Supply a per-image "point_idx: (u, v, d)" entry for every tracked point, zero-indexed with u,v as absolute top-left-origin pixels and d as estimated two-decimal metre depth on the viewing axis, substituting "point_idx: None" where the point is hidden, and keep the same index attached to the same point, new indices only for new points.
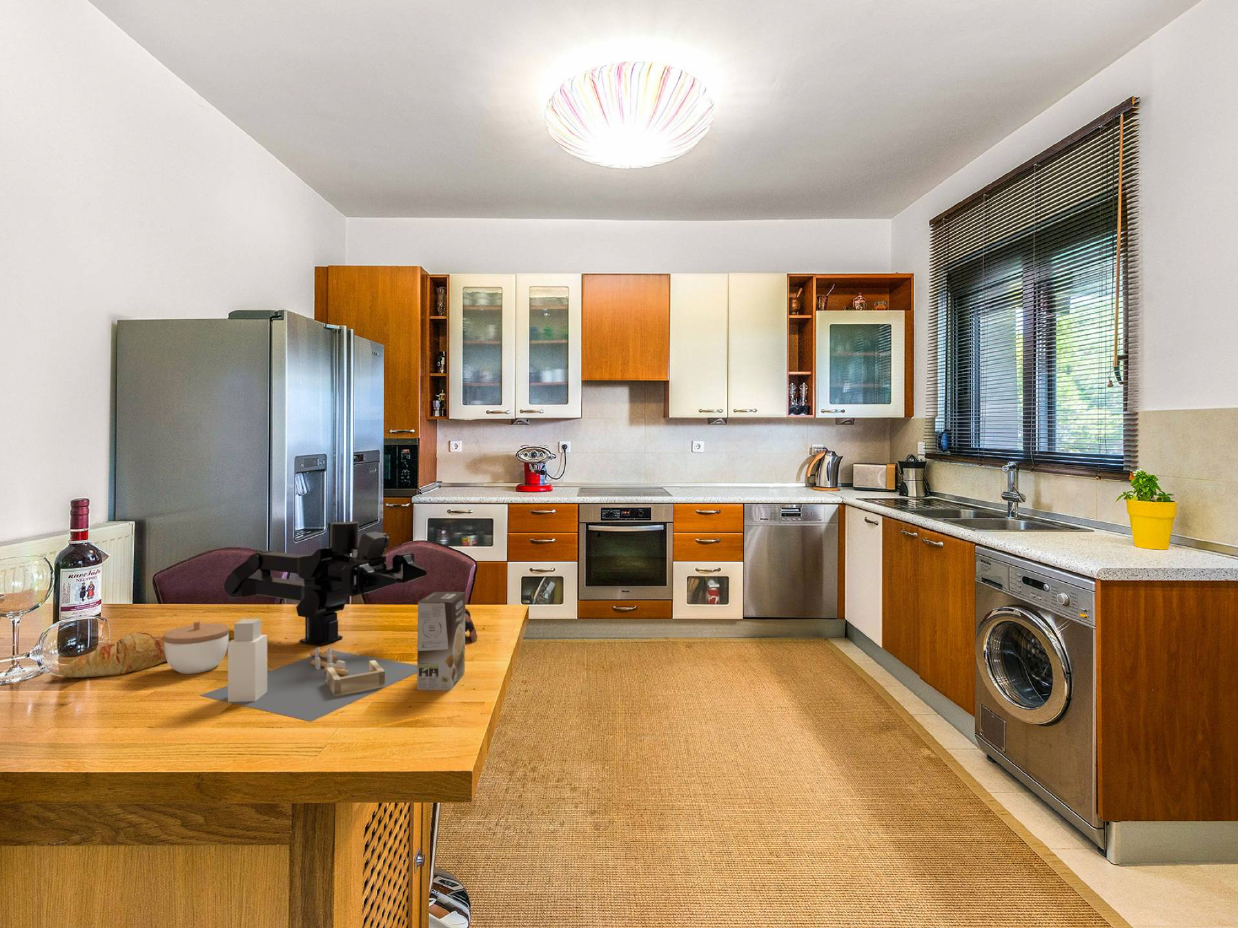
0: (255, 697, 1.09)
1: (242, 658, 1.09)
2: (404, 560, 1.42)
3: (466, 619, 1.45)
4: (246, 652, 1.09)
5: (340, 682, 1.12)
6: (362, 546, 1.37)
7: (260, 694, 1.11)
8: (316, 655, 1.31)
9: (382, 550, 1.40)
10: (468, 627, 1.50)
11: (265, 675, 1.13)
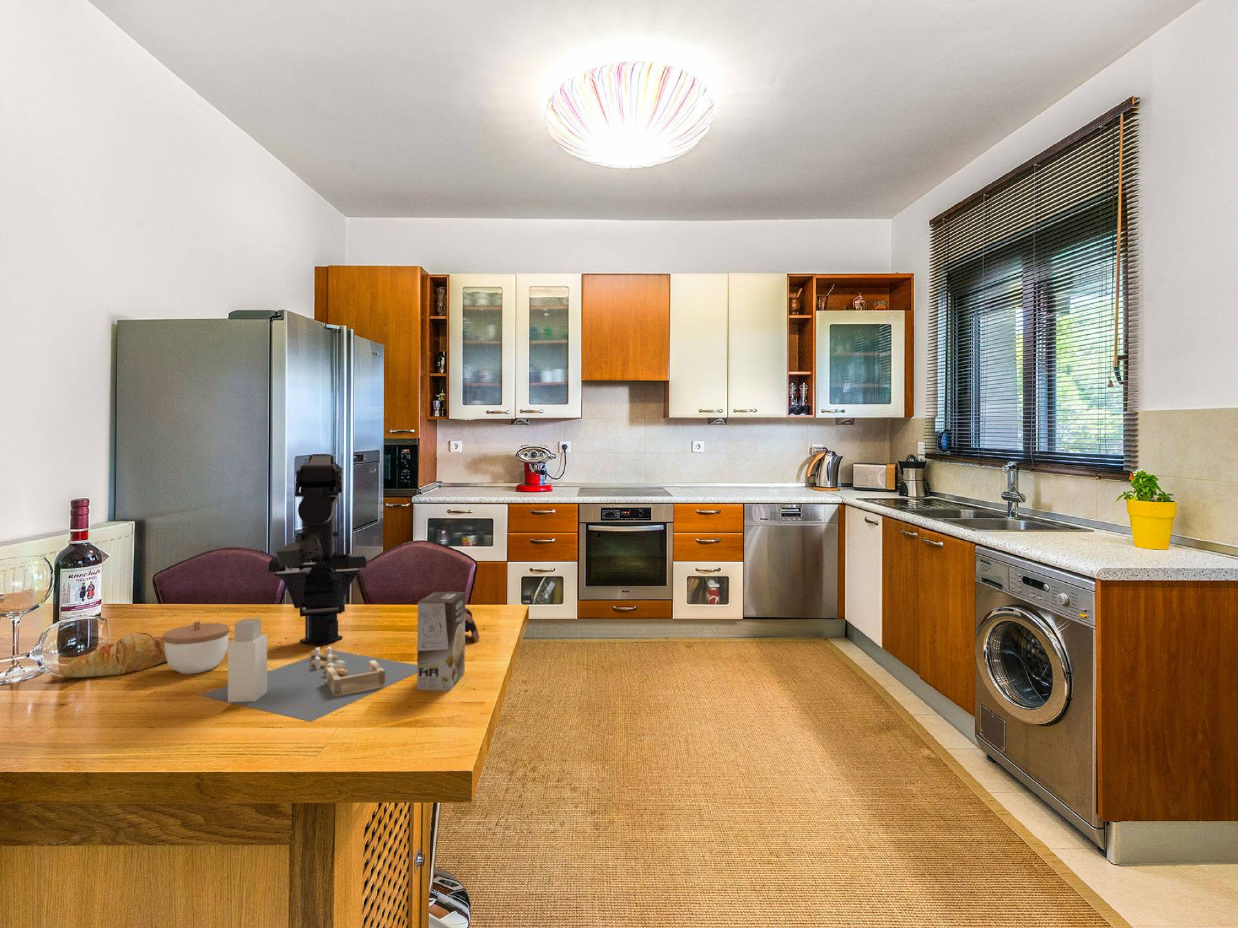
0: (255, 697, 1.09)
1: (242, 658, 1.09)
2: None
3: (468, 619, 1.45)
4: (246, 652, 1.09)
5: (340, 682, 1.12)
6: None
7: (260, 694, 1.11)
8: (316, 655, 1.31)
9: None
10: (470, 627, 1.50)
11: (265, 675, 1.13)
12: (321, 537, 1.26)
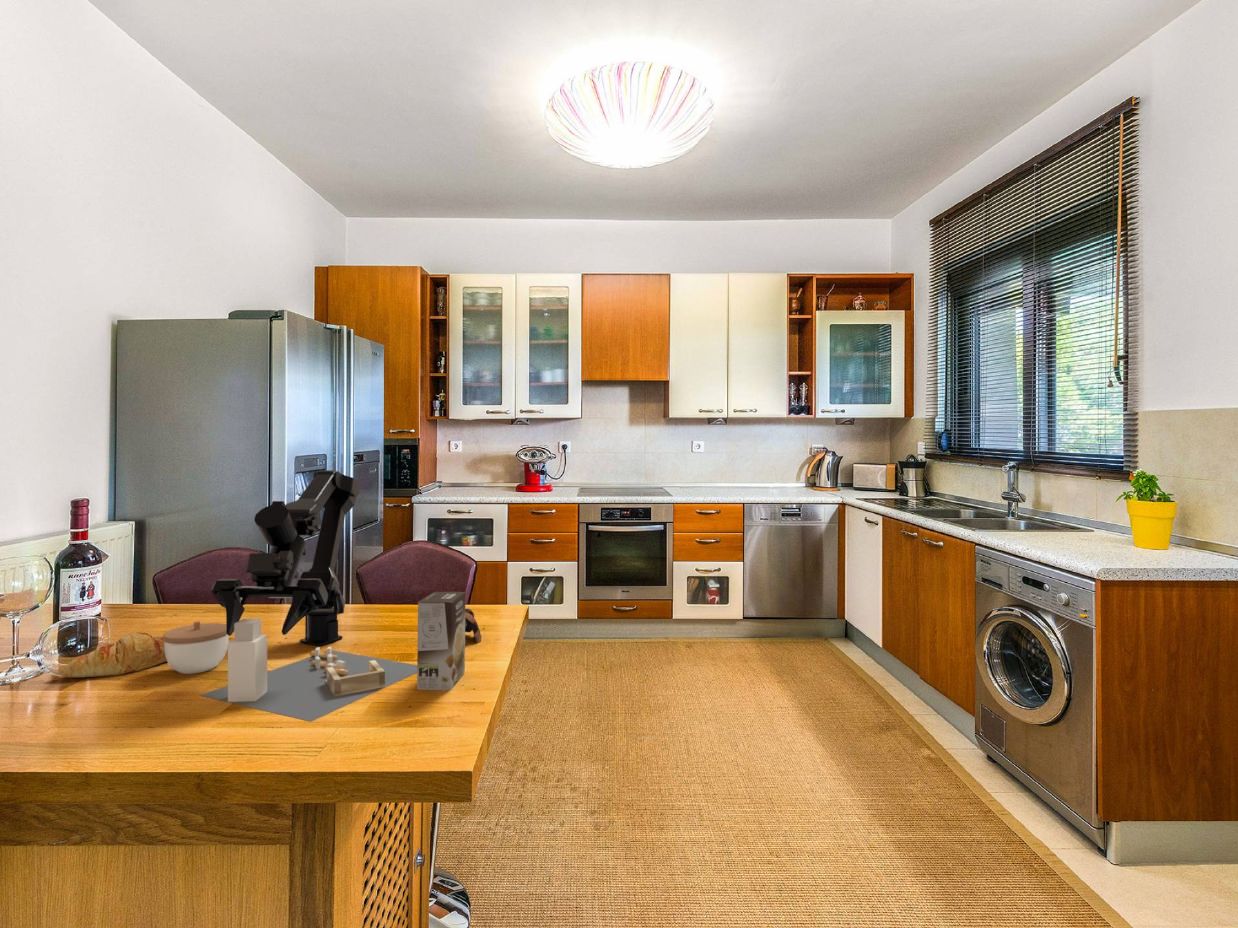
0: (255, 697, 1.09)
1: (242, 658, 1.09)
2: None
3: (470, 620, 1.45)
4: (246, 652, 1.09)
5: (340, 682, 1.12)
6: None
7: (260, 694, 1.11)
8: (316, 655, 1.31)
9: (278, 573, 1.18)
10: (472, 628, 1.50)
11: (265, 675, 1.13)
12: None
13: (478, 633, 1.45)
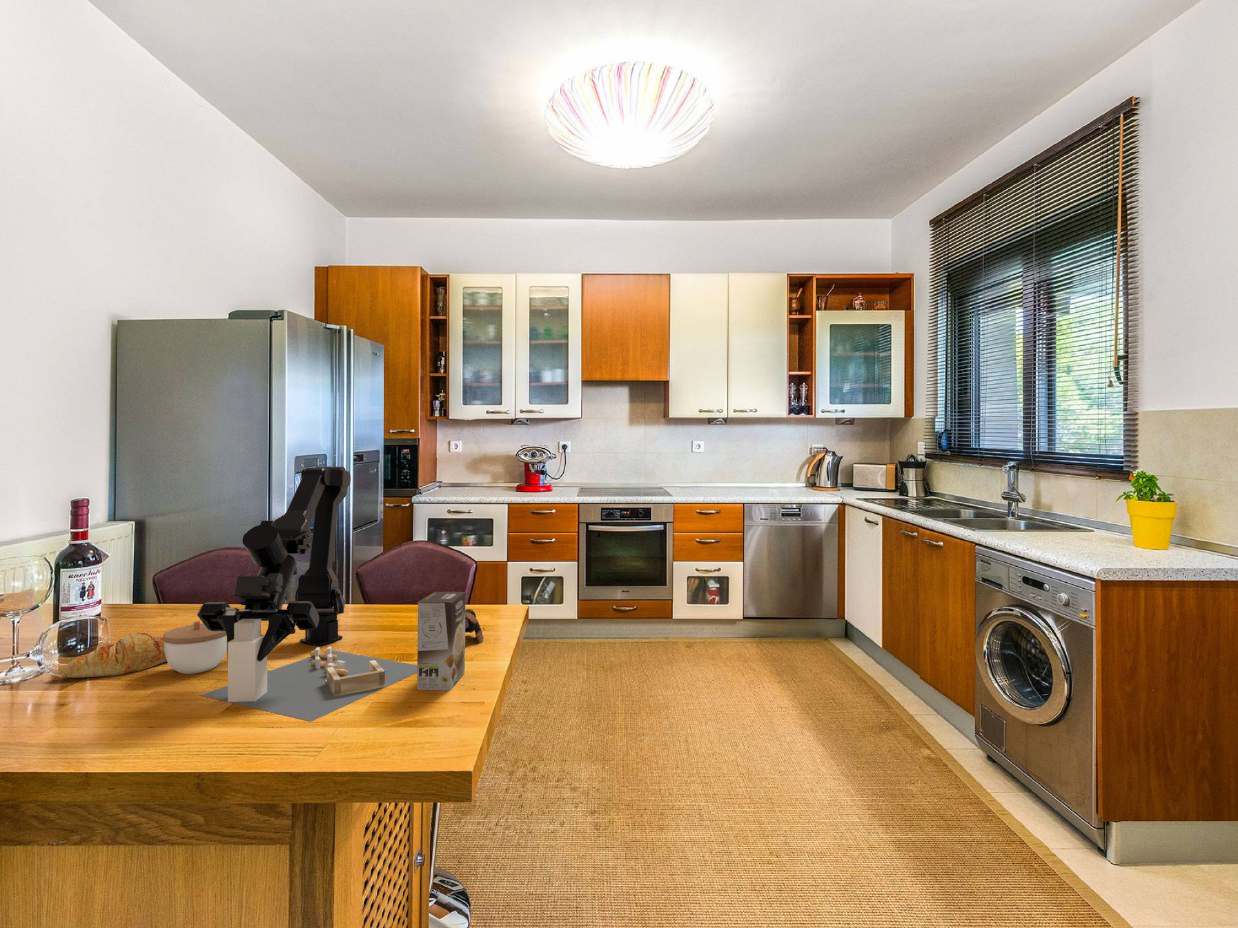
0: (255, 697, 1.09)
1: (242, 658, 1.09)
2: None
3: (472, 620, 1.44)
4: (246, 652, 1.09)
5: (340, 682, 1.12)
6: None
7: (260, 694, 1.11)
8: (316, 655, 1.31)
9: (266, 596, 1.13)
10: (474, 628, 1.49)
11: (265, 675, 1.13)
12: None
13: (480, 633, 1.45)
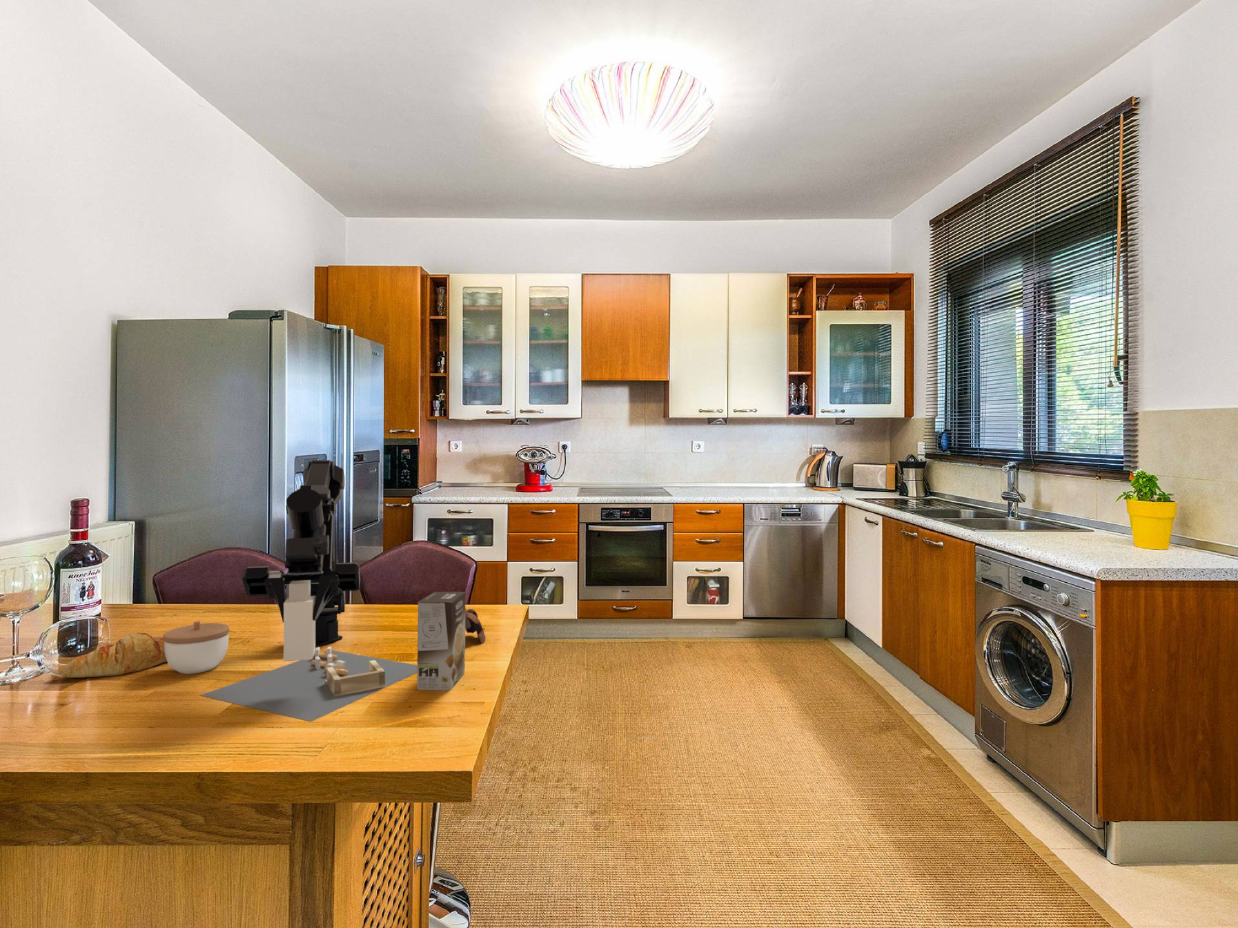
0: (312, 655, 1.12)
1: (298, 618, 1.11)
2: (319, 581, 1.15)
3: (474, 620, 1.44)
4: (303, 611, 1.11)
5: (340, 682, 1.12)
6: None
7: (313, 653, 1.13)
8: (316, 655, 1.31)
9: (315, 558, 1.16)
10: (476, 628, 1.49)
11: (314, 635, 1.15)
12: None
13: (482, 634, 1.45)
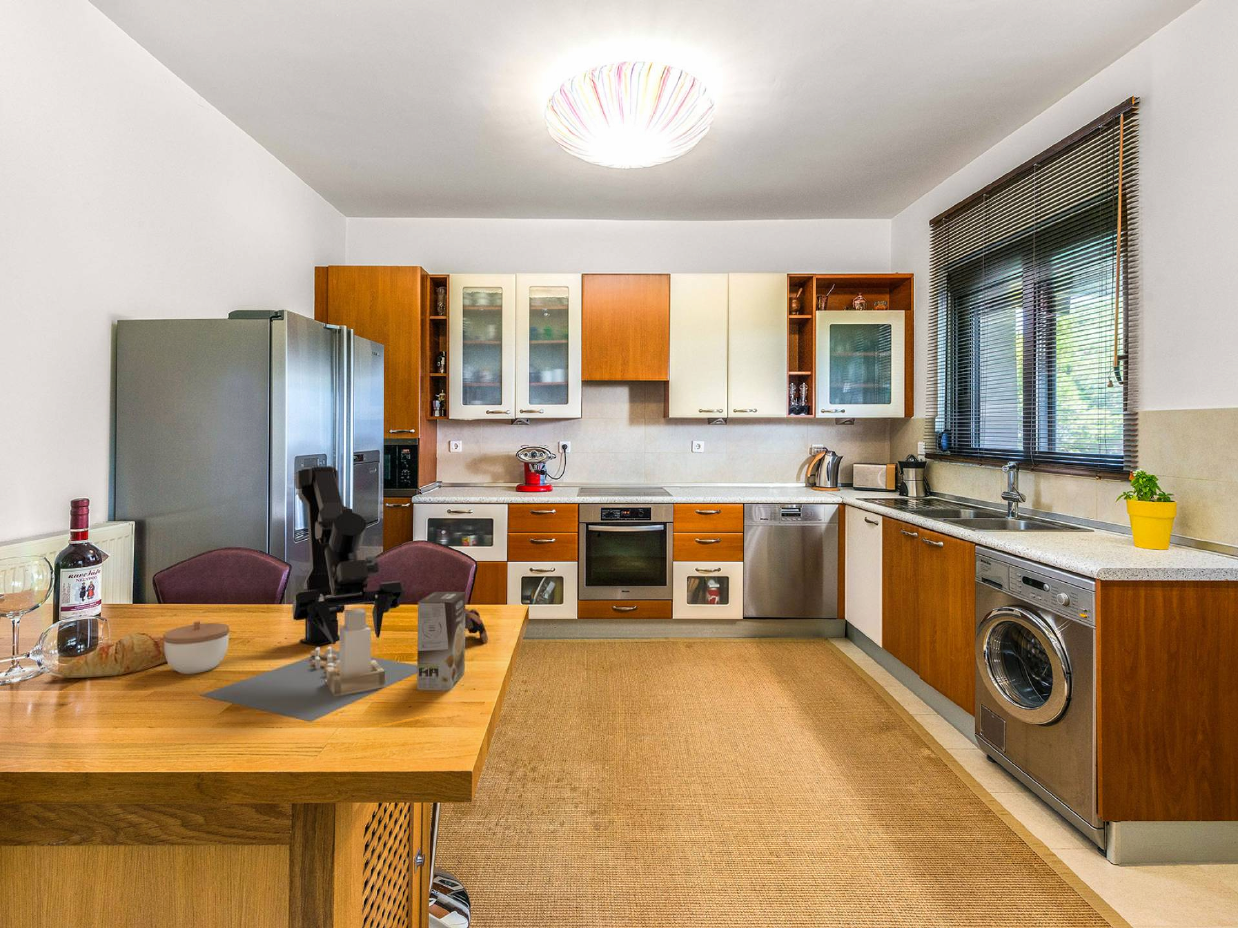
0: None
1: (358, 645, 1.16)
2: (377, 600, 1.21)
3: (477, 620, 1.44)
4: (362, 639, 1.16)
5: (340, 682, 1.12)
6: (338, 571, 1.18)
7: None
8: (316, 655, 1.31)
9: (364, 578, 1.20)
10: (478, 628, 1.49)
11: None
12: None
13: (485, 634, 1.45)
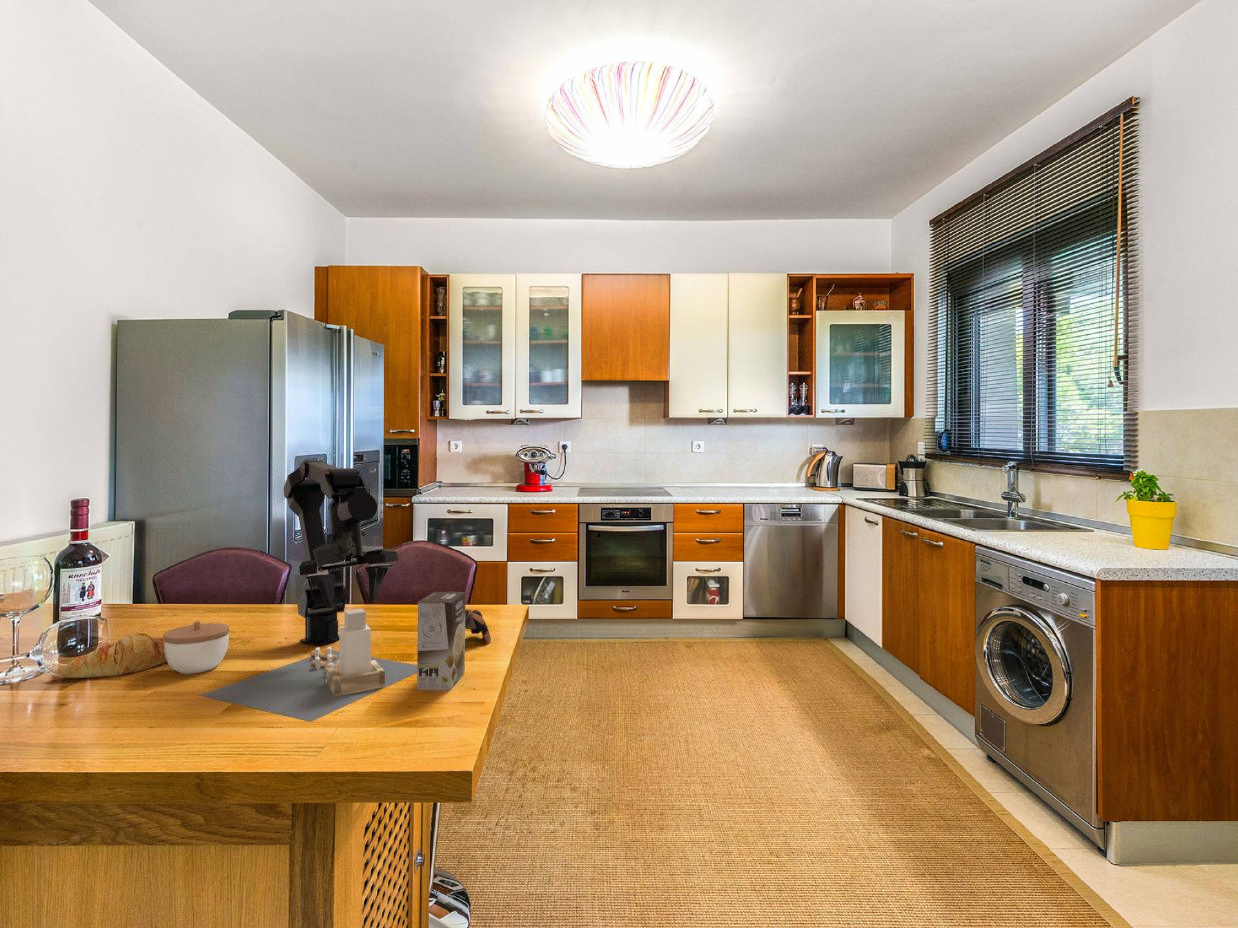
0: None
1: (358, 645, 1.16)
2: None
3: (480, 621, 1.44)
4: (362, 639, 1.16)
5: (340, 682, 1.12)
6: None
7: None
8: (316, 655, 1.31)
9: None
10: (481, 629, 1.48)
11: None
12: (352, 536, 1.31)
13: (488, 634, 1.45)
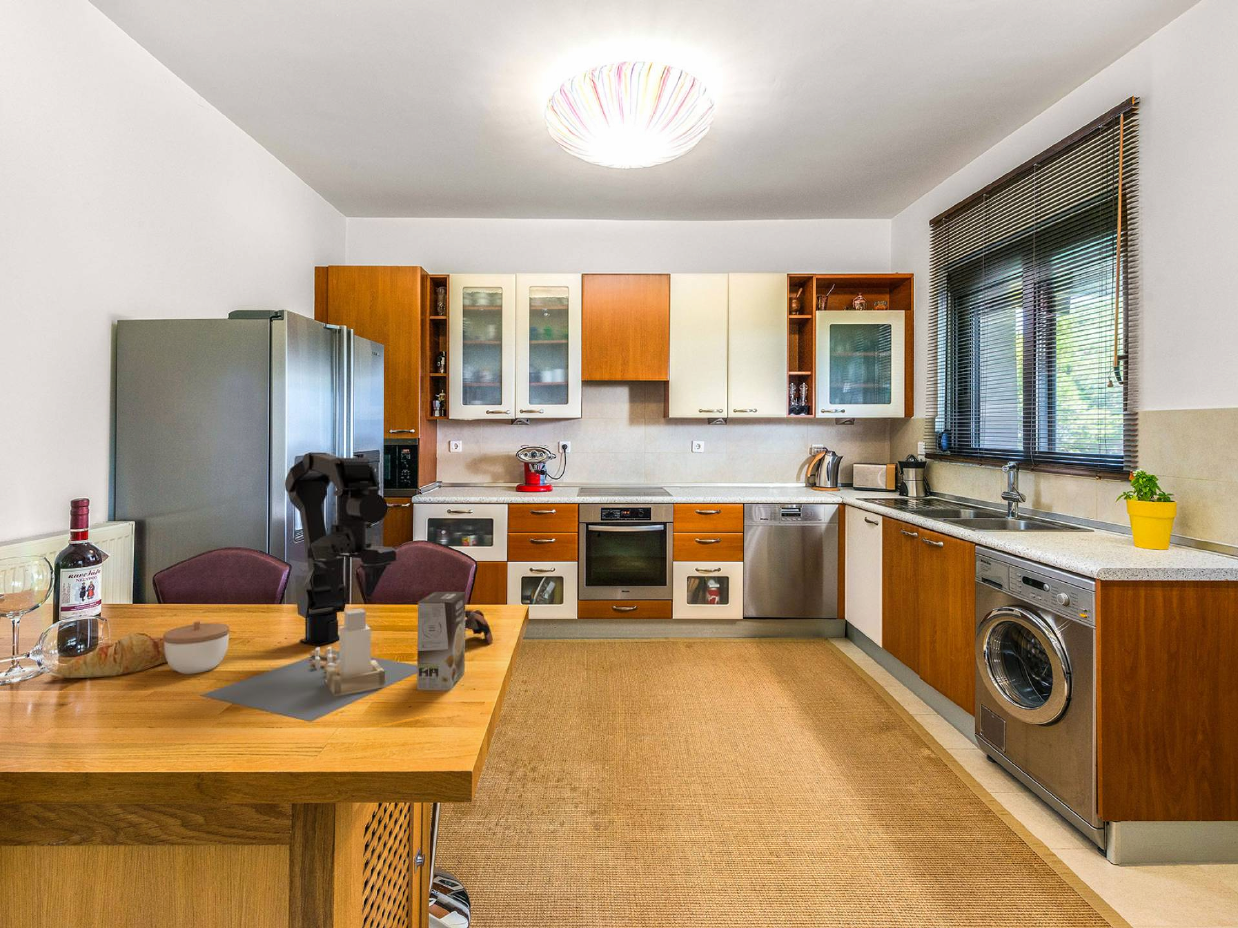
0: None
1: (358, 645, 1.16)
2: None
3: (482, 621, 1.44)
4: (362, 639, 1.16)
5: (340, 682, 1.12)
6: None
7: None
8: (316, 655, 1.31)
9: None
10: (483, 629, 1.48)
11: None
12: (353, 530, 1.31)
13: (490, 635, 1.44)
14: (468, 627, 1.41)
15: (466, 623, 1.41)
